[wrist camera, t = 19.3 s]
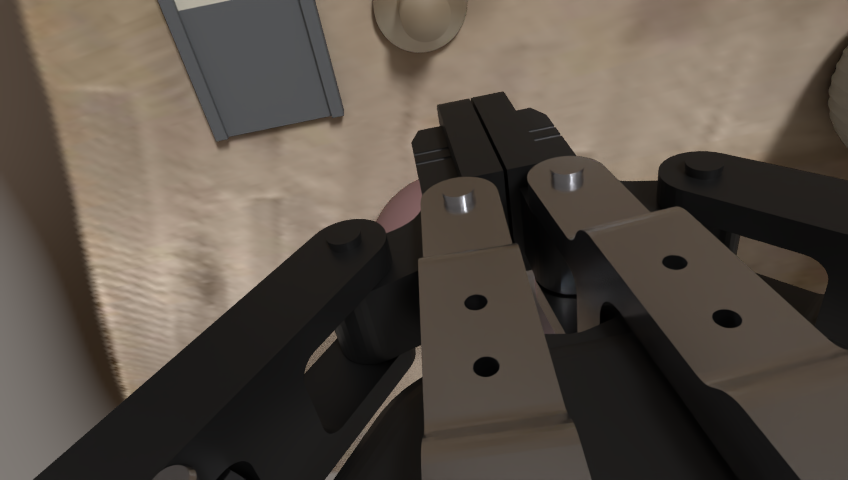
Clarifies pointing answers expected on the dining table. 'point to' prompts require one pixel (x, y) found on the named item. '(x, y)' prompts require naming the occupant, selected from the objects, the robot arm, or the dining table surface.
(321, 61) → the lane
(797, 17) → the dining table surface
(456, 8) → the beige brimmed cylinder
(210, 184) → the dining table surface
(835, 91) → the canister
